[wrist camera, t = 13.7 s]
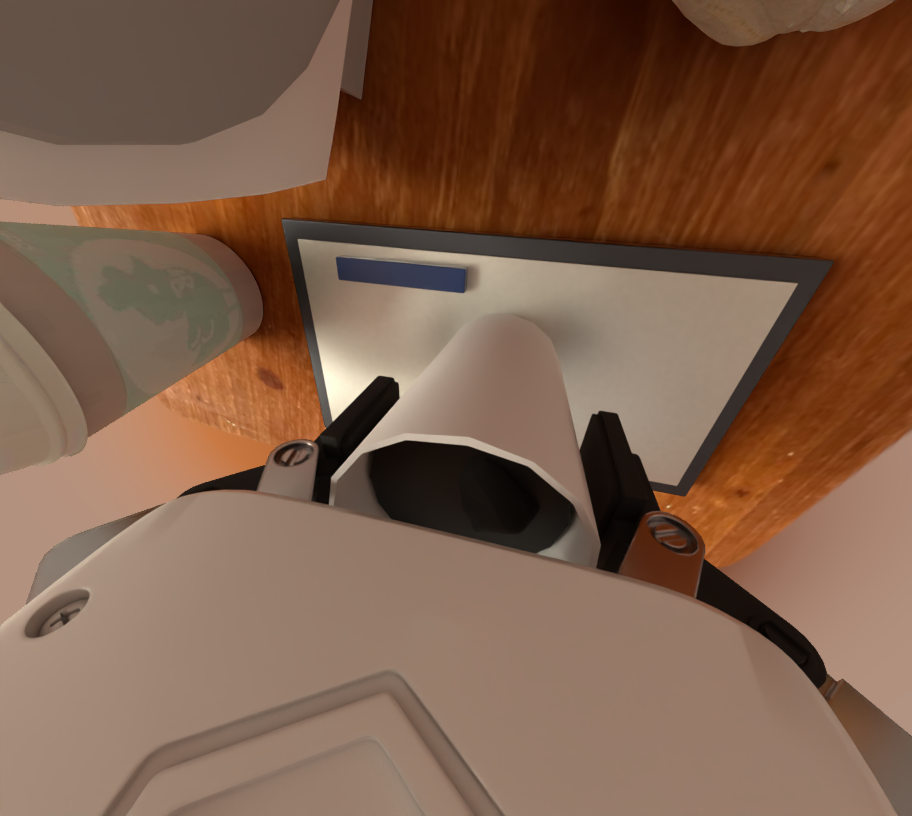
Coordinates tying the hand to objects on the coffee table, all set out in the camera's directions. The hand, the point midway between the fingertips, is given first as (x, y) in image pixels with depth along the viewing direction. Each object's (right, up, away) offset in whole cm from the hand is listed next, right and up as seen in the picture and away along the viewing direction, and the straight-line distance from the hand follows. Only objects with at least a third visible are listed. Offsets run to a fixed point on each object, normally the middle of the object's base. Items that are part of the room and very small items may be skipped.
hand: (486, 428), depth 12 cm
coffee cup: (-15, +8, +7) cm, 18 cm away
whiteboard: (+1, +3, +5) cm, 6 cm away
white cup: (+1, +3, +4) cm, 5 cm away
